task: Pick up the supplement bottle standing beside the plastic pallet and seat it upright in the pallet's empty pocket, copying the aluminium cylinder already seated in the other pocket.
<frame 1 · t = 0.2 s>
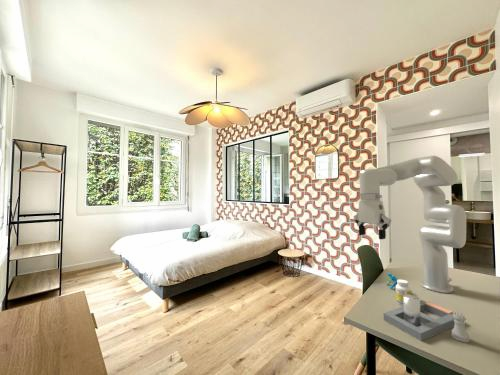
hand: (371, 236, 91), 30 cm above the table, tool pointing down, fingers open, 9 cm apart
rook chess piece: (460, 339, 70), on the table
pallet: (421, 321, 80), on the table
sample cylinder: (412, 324, 78), resting in pallet
supplement bottle: (403, 303, 93), on the table
gear: (396, 288, 108), on the table
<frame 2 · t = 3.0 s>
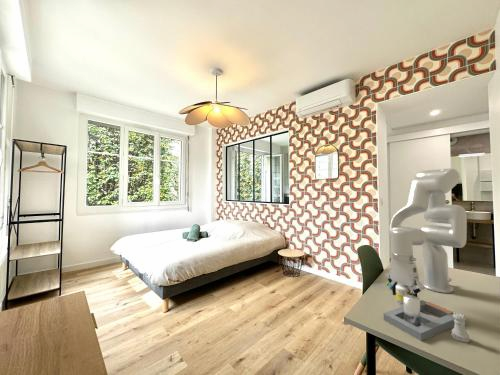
hand: (404, 297, 93), 3 cm above the table, tool pointing down, fingers open, 6 cm apart
nothing on the table moved.
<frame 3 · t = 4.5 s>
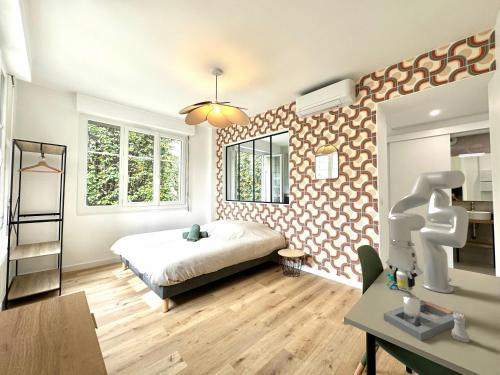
hand: (404, 283, 94), 9 cm above the table, tool pointing down, fingers closed on supplement bottle, 5 cm apart
supplement bottle: (405, 289, 94), point 6 cm above the table, touching gripper
everything else where it was.
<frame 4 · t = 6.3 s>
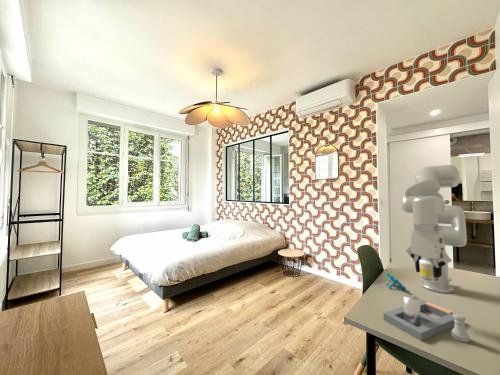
hand: (428, 273, 83), 17 cm above the table, tool pointing down, fingers closed on supplement bottle, 5 cm apart
supplement bottle: (429, 280, 83), point 14 cm above the table, touching gripper
everything else where it was.
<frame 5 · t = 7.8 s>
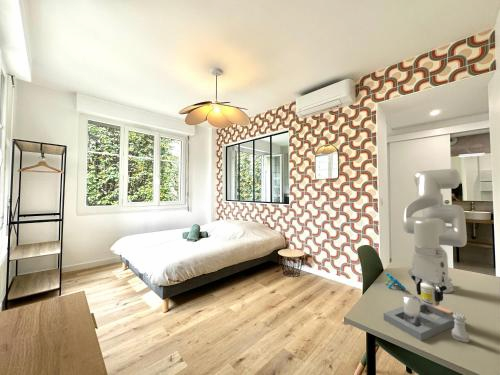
hand: (429, 297, 82), 8 cm above the table, tool pointing down, fingers closed on supplement bottle, 5 cm apart
supplement bottle: (430, 303, 82), point 5 cm above the table, touching gripper
everything else where it was.
when the fingers open (3 cm above the table, at t = 9.1 s): supplement bottle stays where it is, resting in pallet.
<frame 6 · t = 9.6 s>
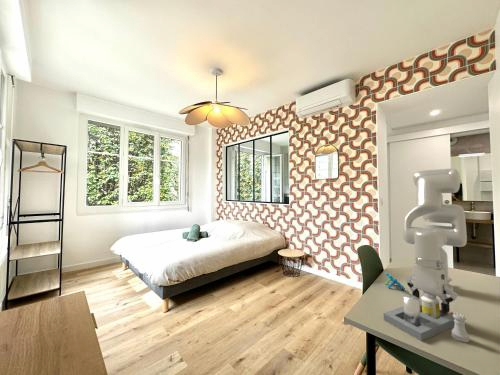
hand: (430, 306, 82), 4 cm above the table, tool pointing down, fingers open, 9 cm apart
supplement bottle: (431, 317, 82), resting in pallet
everything else where it was.
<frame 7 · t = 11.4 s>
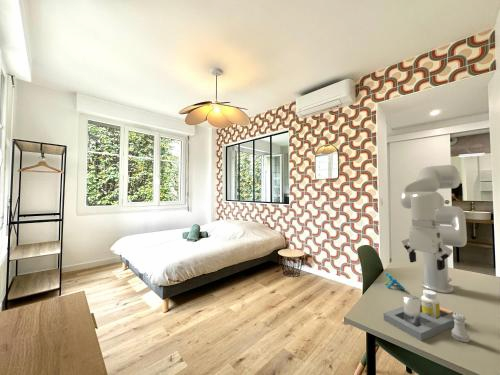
hand: (426, 265, 85), 19 cm above the table, tool pointing down, fingers open, 9 cm apart
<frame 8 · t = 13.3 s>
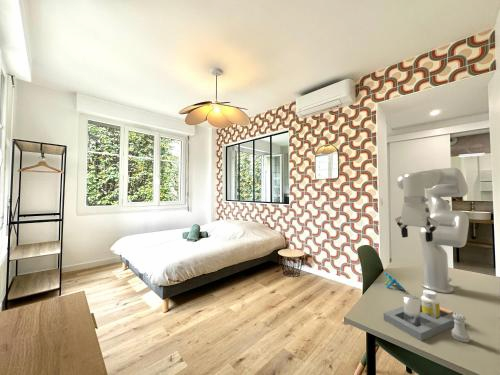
hand: (416, 239, 93), 28 cm above the table, tool pointing down, fingers open, 9 cm apart
at the end: supplement bottle 0.5 cm from the target spot on the pallet, point 0.0 cm above the pallet's base; supplement bottle tilted 0°; the gripper is holding nothing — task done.
